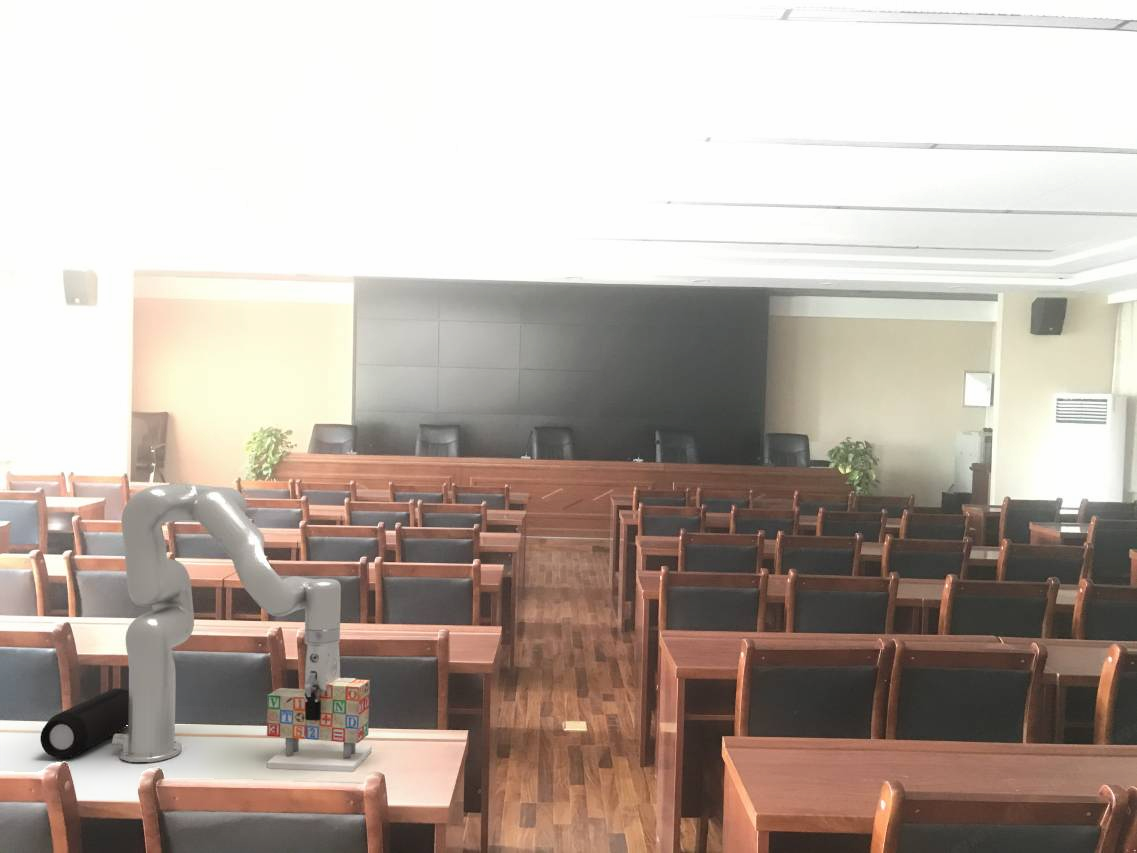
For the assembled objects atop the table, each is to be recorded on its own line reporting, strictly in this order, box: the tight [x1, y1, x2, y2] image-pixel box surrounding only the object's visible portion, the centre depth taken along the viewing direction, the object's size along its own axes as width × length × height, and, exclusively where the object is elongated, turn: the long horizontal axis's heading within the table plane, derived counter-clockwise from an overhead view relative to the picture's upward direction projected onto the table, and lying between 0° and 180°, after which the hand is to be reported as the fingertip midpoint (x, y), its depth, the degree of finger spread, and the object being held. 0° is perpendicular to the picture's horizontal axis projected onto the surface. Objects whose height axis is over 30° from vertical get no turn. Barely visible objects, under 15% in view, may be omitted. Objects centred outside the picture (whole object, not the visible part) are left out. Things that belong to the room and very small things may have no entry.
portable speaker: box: [40, 687, 129, 759], centre depth 213 cm, size 26×10×10 cm, turn 175°
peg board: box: [266, 738, 372, 773], centre depth 203 cm, size 19×13×5 cm
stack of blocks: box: [266, 677, 371, 744], centre depth 203 cm, size 21×6×12 cm, turn 81°
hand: (320, 713), depth 203 cm, fingers open, 9 cm apart
